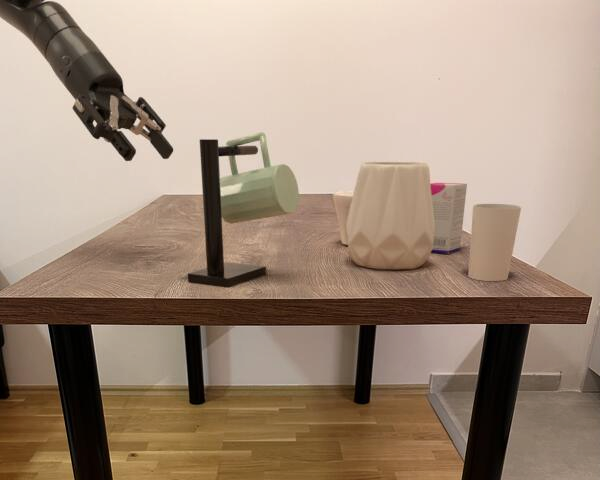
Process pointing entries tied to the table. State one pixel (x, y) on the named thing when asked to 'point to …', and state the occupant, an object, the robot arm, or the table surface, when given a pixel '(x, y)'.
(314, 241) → the table surface
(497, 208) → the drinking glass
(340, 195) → the cup
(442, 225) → the supplement box
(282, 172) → the mug
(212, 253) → the mug rack
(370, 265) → the vase
